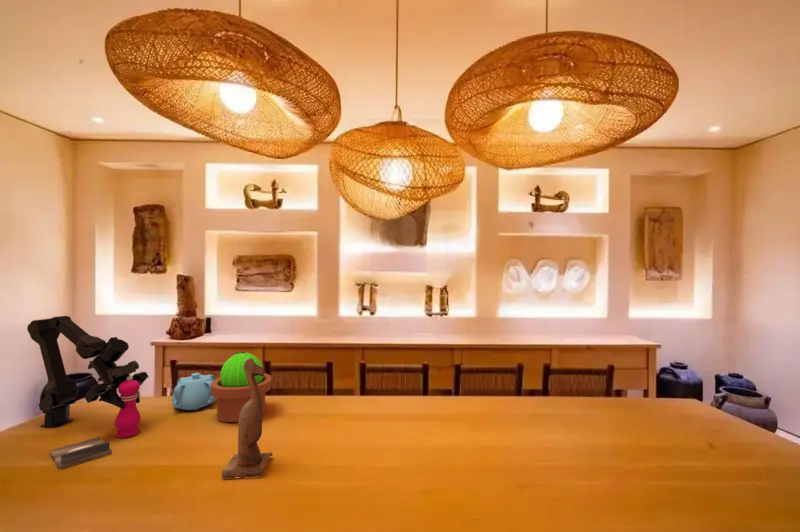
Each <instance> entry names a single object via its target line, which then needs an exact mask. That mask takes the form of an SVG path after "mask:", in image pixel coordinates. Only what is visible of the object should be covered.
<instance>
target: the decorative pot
mask: <svg viewBox="0 0 800 532" xmlns="http://www.w3.org/2000/svg"><path fill="white" fill-rule="evenodd" d="M215 379H216V378H215V376H214V375H213V374H207V375H205V374H201V373H200V372H194V373H191V374H190V376H186V377H184V376H183V377H180V378H178V380H177V383H176V386H175V387H174V389H173V395H172V398H171V402H172V406H173V408H176V409H180V410H186V411H188V410H189V411H191V410H196V411H198V410H199V409H201V408H205V407H206V406H211V404H212V403H214V401H216V400H217V398H216V397H213V396H212V395H211V383H212V382H213V381H214V380H215ZM197 409H198V410H197Z"/></svg>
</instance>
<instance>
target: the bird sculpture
mask: <svg viewBox="0 0 800 532" xmlns="http://www.w3.org/2000/svg"><path fill="white" fill-rule="evenodd" d="M262 367H263V366H262ZM262 367H261V366H259V365H257V364H256V363H255V362H254V360H253V358H249V359H247V360H246V361H245V363H244V367H243V368H244V371H245V374H246V377H247V380H248V384H249V389H250V395H251V399H250V400H249V401H248V402H247V403H246V404H245V405H244V406H243V408H242V409H241V412H240V415H239V422H238V429H237V430H238V431H237V453H238V454H233V456H232V458H230V460H229V461H228V463H227V465H226V466H225V467H224V468H223V470H222V471H221V479H222V478H224V479H225V478H234V479H235V477H243V478H244V477H248V478H249V477H254V476H255V477H256V476H257V477H258V476H259V477H260V476H262V477H263V476H264V470H265V467H266V465H267V463H268V460H269V457H270V456H273V457H274V454H273V452H261V450H260V447H259V443H258V441H259V440H260V439H261V437H262V432H263V415H262V399H261V394H260V390H259V387H258V384H257V382H256V379H255V376H257V375H260V376H264V373H265V371H264V367H263V368H262ZM257 477H256V478H257Z"/></svg>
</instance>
